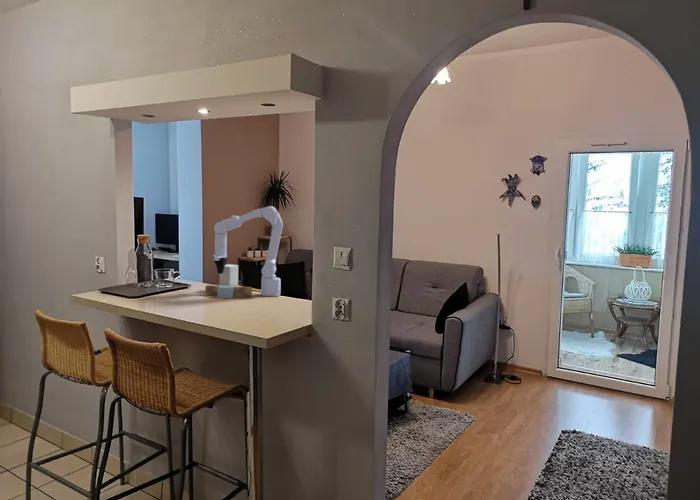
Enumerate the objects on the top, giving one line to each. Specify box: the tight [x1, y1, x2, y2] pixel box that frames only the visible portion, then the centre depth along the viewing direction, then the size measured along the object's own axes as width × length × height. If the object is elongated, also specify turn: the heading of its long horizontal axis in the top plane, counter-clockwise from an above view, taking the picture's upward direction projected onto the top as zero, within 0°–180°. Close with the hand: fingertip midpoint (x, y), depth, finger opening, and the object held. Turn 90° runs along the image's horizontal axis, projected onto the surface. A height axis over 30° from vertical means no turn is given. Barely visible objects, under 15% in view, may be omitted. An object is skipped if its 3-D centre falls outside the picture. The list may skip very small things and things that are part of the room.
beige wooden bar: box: [205, 284, 253, 298], centre depth 263 cm, size 22×4×4 cm, turn 86°
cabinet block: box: [217, 286, 235, 299], centre depth 260 cm, size 8×4×5 cm, turn 86°
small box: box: [219, 263, 239, 286], centre depth 276 cm, size 8×6×13 cm
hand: (220, 273), depth 268 cm, fingers closed
